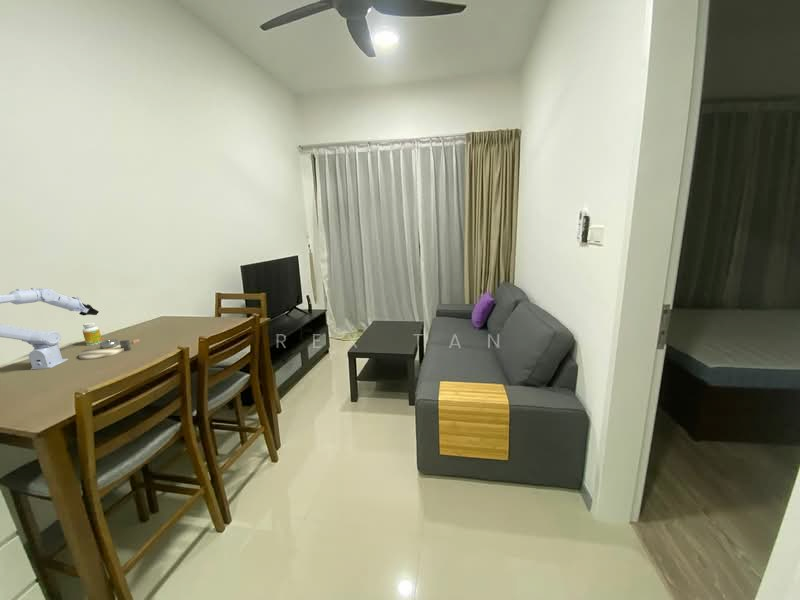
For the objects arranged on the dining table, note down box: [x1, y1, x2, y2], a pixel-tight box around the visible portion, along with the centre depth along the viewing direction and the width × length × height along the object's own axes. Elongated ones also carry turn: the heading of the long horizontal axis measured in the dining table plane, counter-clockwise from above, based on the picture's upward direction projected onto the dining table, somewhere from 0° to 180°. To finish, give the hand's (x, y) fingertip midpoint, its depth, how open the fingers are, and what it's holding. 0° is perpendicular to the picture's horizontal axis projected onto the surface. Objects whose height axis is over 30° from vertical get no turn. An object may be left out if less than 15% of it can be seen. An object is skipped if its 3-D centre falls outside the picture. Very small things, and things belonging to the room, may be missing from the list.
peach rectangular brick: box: [131, 338, 141, 344], centre depth 169 cm, size 3×1×2 cm, turn 160°
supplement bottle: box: [82, 321, 103, 346], centre depth 169 cm, size 6×6×11 cm
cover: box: [98, 338, 120, 349], centre depth 160 cm, size 7×7×3 cm
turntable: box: [78, 339, 132, 361], centre depth 156 cm, size 18×20×5 cm
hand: (91, 310), depth 163 cm, fingers open, 7 cm apart
